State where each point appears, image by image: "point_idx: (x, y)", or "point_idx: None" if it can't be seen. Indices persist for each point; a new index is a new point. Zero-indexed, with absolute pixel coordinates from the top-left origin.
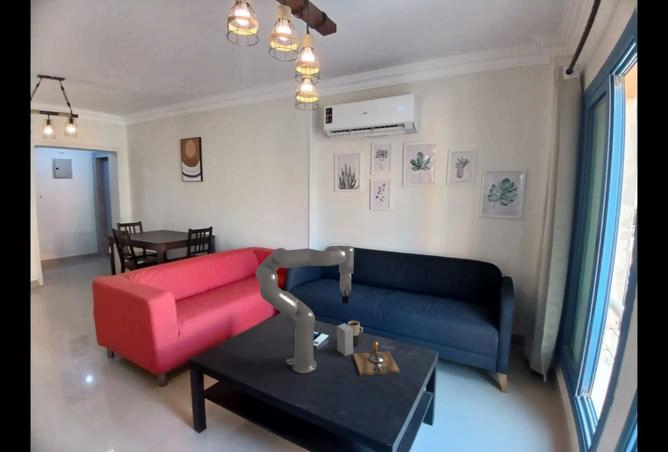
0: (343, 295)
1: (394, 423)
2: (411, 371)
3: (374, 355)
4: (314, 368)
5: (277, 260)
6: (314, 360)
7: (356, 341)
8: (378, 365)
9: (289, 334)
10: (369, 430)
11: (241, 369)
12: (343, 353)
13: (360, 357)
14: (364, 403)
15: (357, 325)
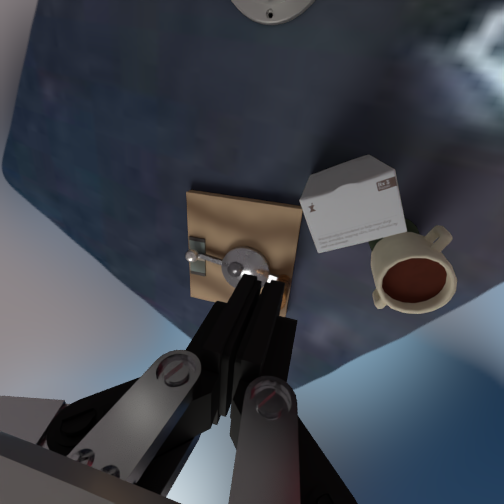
0: (150, 369)
1: (42, 203)
2: (197, 318)
3: (256, 268)
4: (237, 7)
5: None
6: (296, 12)
7: (372, 249)
8: (186, 254)
9: None
10: (15, 144)
11: None
12: (321, 171)
13: (269, 223)
14: (85, 161)
15: (378, 292)
